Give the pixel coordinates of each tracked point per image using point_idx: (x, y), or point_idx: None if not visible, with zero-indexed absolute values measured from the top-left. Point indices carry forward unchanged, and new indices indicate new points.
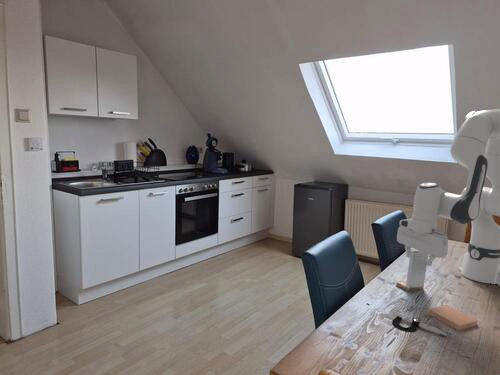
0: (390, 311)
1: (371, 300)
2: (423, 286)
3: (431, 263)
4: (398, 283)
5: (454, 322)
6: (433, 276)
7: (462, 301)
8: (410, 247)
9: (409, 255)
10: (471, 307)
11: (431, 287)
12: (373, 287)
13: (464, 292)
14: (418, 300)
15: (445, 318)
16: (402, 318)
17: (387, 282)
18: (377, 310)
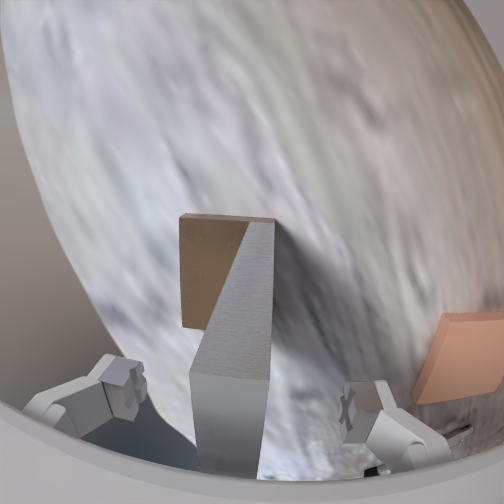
0: (332, 464)
1: (258, 464)
2: (274, 223)
3: (388, 396)
4: (195, 327)
5: (485, 391)
6: (174, 3)
7: (450, 162)
8: (68, 424)
9: (137, 405)
10: (488, 190)
11: (277, 144)
12: (177, 405)
13: (390, 39)
14: (343, 353)
15: (465, 396)
16: (379, 472)
17: (147, 322)
18: (309, 479)
